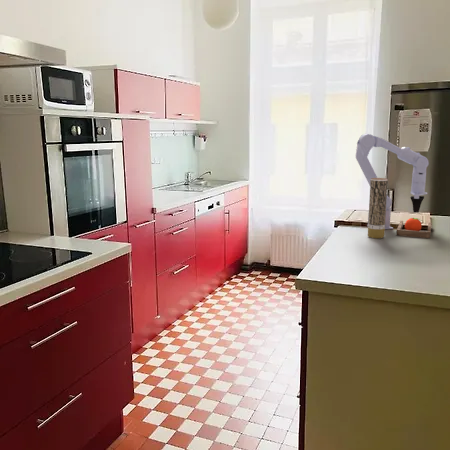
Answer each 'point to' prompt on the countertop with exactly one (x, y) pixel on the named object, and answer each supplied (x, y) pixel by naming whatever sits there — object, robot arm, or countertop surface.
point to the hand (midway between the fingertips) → (416, 212)
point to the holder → (413, 232)
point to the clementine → (413, 224)
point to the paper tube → (377, 207)
